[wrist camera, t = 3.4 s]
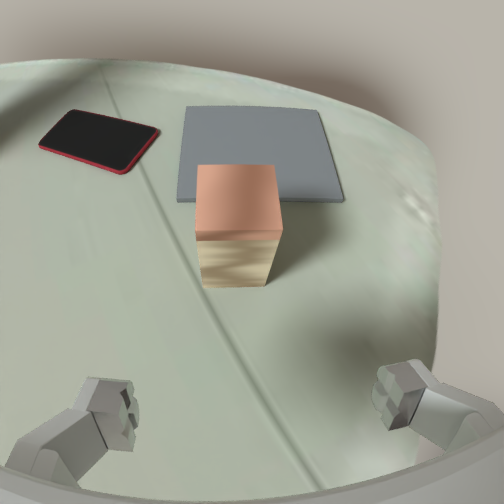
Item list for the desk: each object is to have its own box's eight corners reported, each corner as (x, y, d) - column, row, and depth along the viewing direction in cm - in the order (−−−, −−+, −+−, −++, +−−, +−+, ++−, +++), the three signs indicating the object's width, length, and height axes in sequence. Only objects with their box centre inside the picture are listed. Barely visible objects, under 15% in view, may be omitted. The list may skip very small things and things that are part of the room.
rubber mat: (177, 202, 30) (176, 198, 29) (186, 110, 36) (186, 106, 35) (341, 202, 31) (343, 198, 31) (315, 113, 38) (316, 110, 37)
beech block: (203, 287, 26) (195, 230, 18) (203, 234, 28) (197, 164, 20) (264, 286, 27) (283, 229, 19) (259, 233, 29) (274, 164, 21)
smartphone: (71, 108, 35) (160, 128, 33) (73, 113, 36) (161, 134, 34) (35, 145, 32) (123, 173, 30) (38, 149, 32) (125, 179, 31)
